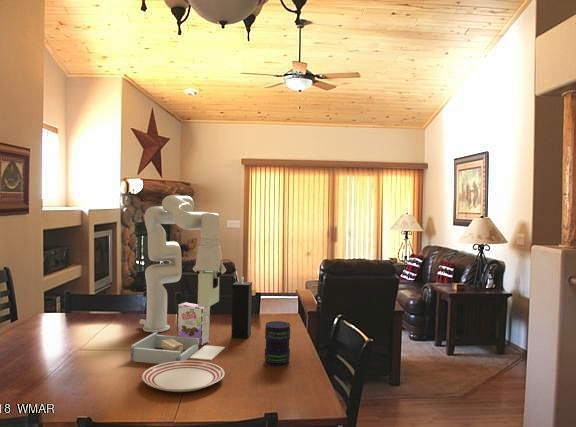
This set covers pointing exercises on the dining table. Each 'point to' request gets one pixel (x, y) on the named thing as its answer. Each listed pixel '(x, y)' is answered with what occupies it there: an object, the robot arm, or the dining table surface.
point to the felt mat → (207, 352)
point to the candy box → (194, 322)
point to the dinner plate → (183, 375)
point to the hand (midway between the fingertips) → (209, 286)
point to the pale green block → (207, 289)
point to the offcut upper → (172, 345)
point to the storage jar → (277, 344)
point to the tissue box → (241, 309)
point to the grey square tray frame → (148, 354)
